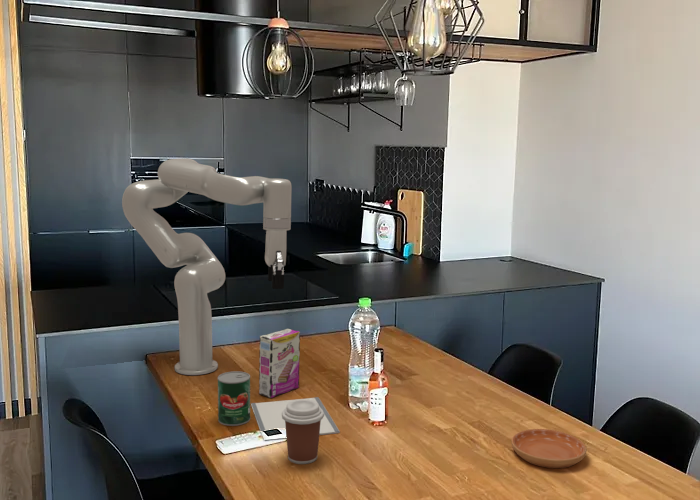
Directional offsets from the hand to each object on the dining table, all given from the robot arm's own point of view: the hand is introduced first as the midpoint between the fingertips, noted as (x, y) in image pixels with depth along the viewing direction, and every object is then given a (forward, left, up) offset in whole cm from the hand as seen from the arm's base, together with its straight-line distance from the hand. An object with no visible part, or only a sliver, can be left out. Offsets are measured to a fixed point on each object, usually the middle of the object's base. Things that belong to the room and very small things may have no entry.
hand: (275, 284), depth 192 cm
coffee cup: (+49, -2, -28) cm, 56 cm away
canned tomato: (+25, -15, -28) cm, 40 cm away
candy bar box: (+9, 0, -28) cm, 29 cm away
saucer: (+61, +51, -29) cm, 84 cm away
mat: (+28, 0, -28) cm, 39 cm away
